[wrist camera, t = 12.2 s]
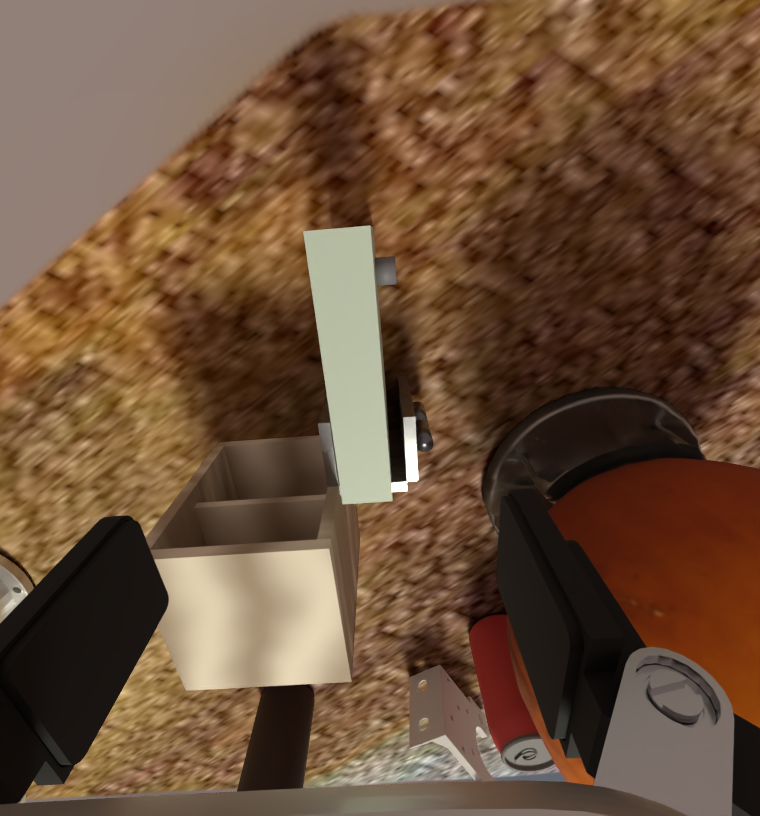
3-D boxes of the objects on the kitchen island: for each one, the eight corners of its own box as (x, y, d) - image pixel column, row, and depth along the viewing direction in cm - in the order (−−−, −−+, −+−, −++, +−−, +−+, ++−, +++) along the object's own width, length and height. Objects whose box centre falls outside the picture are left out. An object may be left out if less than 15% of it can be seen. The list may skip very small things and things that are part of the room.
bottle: (255, 681, 49) (184, 945, 31) (309, 676, 49) (268, 940, 31) (269, 713, 52) (210, 973, 34) (319, 709, 52) (287, 969, 33)
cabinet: (246, 545, 40) (186, 690, 28) (218, 442, 35) (128, 561, 23) (359, 538, 40) (351, 681, 27) (346, 433, 35) (329, 548, 22)
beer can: (456, 631, 46) (480, 757, 35) (499, 601, 44) (540, 725, 33) (493, 657, 48) (527, 783, 37) (536, 629, 46) (586, 754, 35)
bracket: (409, 669, 50) (409, 759, 41) (439, 656, 49) (446, 745, 40) (454, 724, 53) (464, 822, 43) (483, 713, 52) (500, 810, 42)
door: (331, 231, 29) (303, 231, 18) (389, 226, 28) (397, 223, 17) (353, 418, 35) (342, 504, 24) (401, 414, 35) (412, 499, 24)
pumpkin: (551, 607, 44) (832, 1216, 17) (414, 491, 38) (510, 1175, 10) (741, 491, 38) (1682, 1164, 11) (616, 328, 31) (2219, 978, 4)
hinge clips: (339, 441, 36) (328, 496, 28) (330, 381, 33) (317, 423, 26) (423, 435, 35) (435, 489, 28) (421, 374, 33) (433, 415, 26)
